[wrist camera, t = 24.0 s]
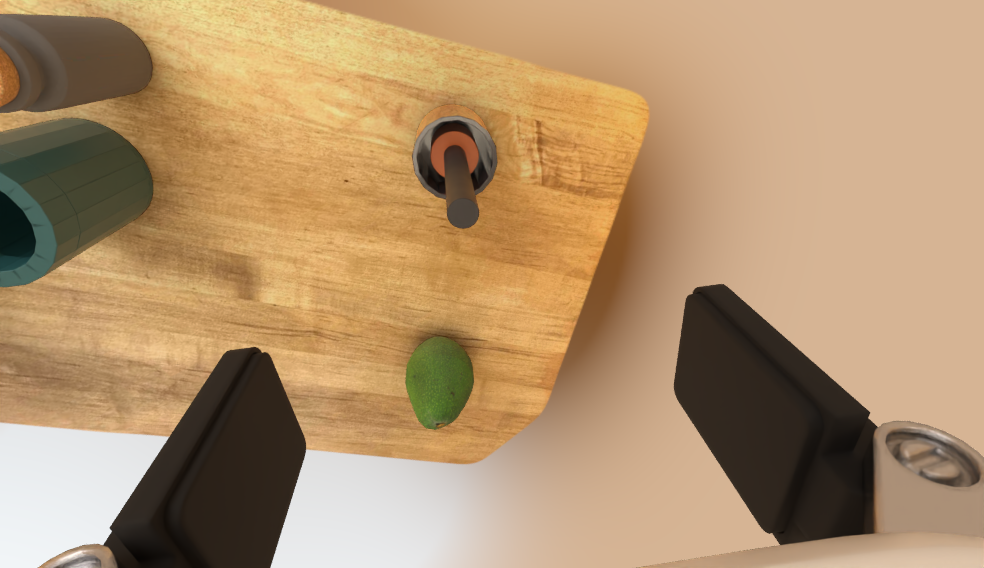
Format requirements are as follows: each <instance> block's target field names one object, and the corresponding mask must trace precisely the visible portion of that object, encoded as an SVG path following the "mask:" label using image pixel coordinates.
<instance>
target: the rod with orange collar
mask: <svg viewBox="0 0 984 568" xmlns="http://www.w3.org/2000/svg"><path fill="white" fill-rule="evenodd" d="M430 157H431V162H432V165H433V167H434V169H435V170H436V171H437V172H438V173H439V174H440V175H441V176H443V177H445V187H446V204H447V217H448V220H449V221H450V223H451V224H452V225H453V226H455V227H457V228H469V227H471V226H472V225H474V224H475V223H476V221H477V220H478V217H479V209H478V204H477V200H476V196H475V192H474V188H473V183H472V179H471V175H470V174H471V173H472V172H473V171H474V169H475V168H476V166H477V164H478V160H479V152H478V148H477V145H476V142H475V139H474V137H473V135H472V133H471V132H470V131H469V130H468V129H467V128H466V127H464V126H463V125H460V124H456V123H450V124H446V125H443V126H441V127H440V128H439V129H438V130H437V131H436V132H435V133H434V135H433V137H432V140H431V153H430Z"/></svg>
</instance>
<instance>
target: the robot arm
mask: <svg viewBox="0 0 984 568" xmlns="http://www.w3.org/2000/svg"><path fill="white" fill-rule="evenodd" d="M678 352H679V353H678V359H677V366H676V373H675V380H674V391H675V395H676V397H677V400H678V401H679V403H680V404H681V406H682V407H683V409H684V410H685V412H686V414H687V415H688V417H689V418H690V420H691V421H692V423H693V424H694V426H695V427H696V429H697V430H698V432H699V433H700V435H701V436H702V438H703V439H704V441H705V443H706V444H707V446H708V447H709V449H710V450H711V452H712V453H713V455H714V456H715V458H716V460H717V461H718V463H719V464H720V465H721V467H722V469H723V470H724V472H725V473H726V475H727V476H728V478H729V479H730V481H731V482H732V484H733V486H734V487H735V489H736V490H737V491H738V493H739V495H740V496H741V498H742V499H743V501H744V502H745V504H746V505H747V507H748V508H749V510H750V512H751V513H752V515H753V516H754V518H755V519H756V521H757V522H758V524H759V525H760V527H761V528H762V529H763V530H764V531H765V532H767V533H769V534H770V533H773V535H774V536H775V538H776V539H777V541H778V542H779V544H780V545H779V546H772V547H764V548H758V549H752V550H744V551H738V552H732V553H726V554H719V555H713V556H707V557H700V558H694V559H688V560H682V561H675V562H669V563H663V564H657V565H650V566H644V567H638V568H984V458H983V457H982V456H981V454H980V453H979V452H977V451H976V450H975V449H973V448H972V447H970V446H969V445H968V444H966V443H965V442H964V441H962V440H960V439H958V438H956V437H955V436H953V435H951V434H948V433H947V432H945V431H942V430H939V429H937V428H934V427H931V426H928V425H925V424H920V423H915V422H910V421H892V422H888V423H884V424H882V425H881V426H879V427H877V426H876V425H875V424H874V423H873V422H872V421H871V420H870V419H868V417H869V414H870V412H869V411H868V410H867V409H866V408H865V407H863V406H862V405H861V404H860V403H859V402H858V401H857V400H855V399H854V398H853V397H852V396H851V395H850V394H849V393H847V392H846V391H845V390H844V389H843V388H842V387H841V386H839V385H838V384H837V383H836V382H835V381H834V380H833V379H831V378H830V377H829V376H828V375H827V374H826V373H825V372H824V371H822V370H821V369H820V368H819V367H818V366H817V365H816V364H814V363H813V362H812V361H811V360H810V359H809V358H808V357H806V356H805V355H804V354H803V353H802V352H801V351H799V350H798V349H797V348H796V347H795V346H794V345H793V344H792V343H791V342H790V341H788V340H787V339H786V338H785V337H784V336H783V335H782V334H780V333H779V332H778V331H777V330H776V329H775V328H773V327H772V326H771V325H770V324H769V323H768V322H767V321H766V320H764V319H763V318H762V317H761V316H760V315H759V314H758V313H757V312H755V311H754V310H753V309H752V308H751V307H750V306H749V305H747V304H746V303H745V302H744V301H743V300H741V299H740V297H738V296H737V295H736V294H735V293H734V292H733V291H732V290H730V289H729V288H728V287H727V286H725V285H724V284H718V285H710V286H703V287H697V288H695V290H694V291H693V294H691V295H688V296H687V298H686V302H685V309H684V316H683V323H682V330H681V338H680V344H679V351H678ZM305 453H306V442H305V438H304V435H303V433H302V430H301V428H300V426H299V423H298V421H297V418H296V416H295V414H294V411H293V409H292V407H291V404H290V402H289V399H288V397H287V395H286V392H285V390H284V388H283V385H282V383H281V380H280V378H279V376H278V373H277V371H276V368H275V366H274V364H273V361H272V359H271V357H270V355H269V354H268V353H266V352H264V353H262V352H261V350H260V349H258V348H256V347H251V348H244V349H237V350H230V351H227V352H226V353H225V354H224V355H223V356H222V358H221V359H220V361H219V362H218V364H217V365H216V367H215V368H214V370H213V371H212V373H211V375H210V376H209V378H208V379H207V381H206V382H205V384H204V385H203V387H202V388H201V390H200V391H199V393H198V394H197V396H196V397H195V399H194V400H193V402H192V403H191V405H190V406H189V408H188V409H187V411H186V413H185V414H184V416H183V417H182V419H181V420H180V422H179V423H178V425H177V426H176V428H175V429H174V431H173V432H172V434H171V435H170V437H169V438H168V440H167V442H166V443H165V445H164V446H163V448H162V449H161V451H160V452H159V454H158V455H157V457H156V458H155V460H154V461H153V463H152V464H151V466H150V468H149V469H148V470H147V472H146V473H145V475H144V477H143V478H142V480H141V481H140V483H139V484H138V485H137V487H136V489H135V490H134V492H133V493H132V495H131V496H130V498H129V499H128V501H127V502H126V504H125V505H124V507H123V508H122V510H121V511H120V513H119V514H118V516H117V517H116V519H115V520H114V522H113V523H112V525H111V527H110V529H111V530H112V532H111V534H110V535H109V537H108V538H107V540H106V542H105V543H104V545H100V544H90V545H82V546H79V547H76V548H73V549H70V550H67V551H65V552H63V553H62V554H59V555H58V556H56V557H54V558H52V559H50V560H48V561H47V562H45V563H44V564H42V565H41V566H40V567H38V568H270V567H271V563H272V560H273V557H274V554H275V551H276V547H277V544H278V541H279V538H280V534H281V531H282V528H283V525H284V522H285V518H286V515H287V512H288V509H289V505H290V502H291V499H292V496H293V493H294V489H295V486H296V483H297V480H298V476H299V473H300V470H301V467H302V463H303V460H304V457H305Z"/></svg>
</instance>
